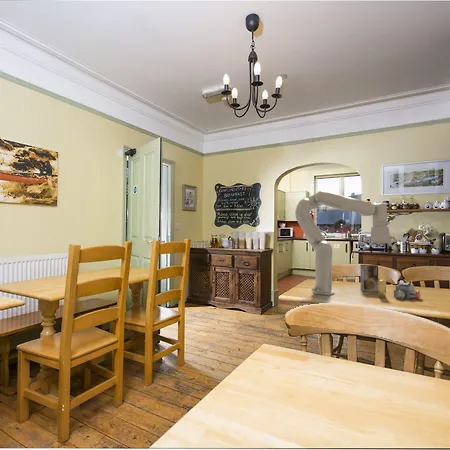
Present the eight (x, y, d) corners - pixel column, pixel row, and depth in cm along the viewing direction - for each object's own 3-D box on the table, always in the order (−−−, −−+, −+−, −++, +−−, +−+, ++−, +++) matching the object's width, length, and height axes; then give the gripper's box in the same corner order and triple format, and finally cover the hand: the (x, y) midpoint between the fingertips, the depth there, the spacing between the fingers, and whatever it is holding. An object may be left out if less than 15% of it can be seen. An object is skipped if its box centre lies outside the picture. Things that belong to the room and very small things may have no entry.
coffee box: (374, 289, 196) (374, 264, 196) (378, 291, 189) (378, 265, 189) (360, 289, 197) (360, 264, 197) (363, 291, 190) (363, 265, 190)
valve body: (413, 302, 166) (413, 289, 166) (391, 298, 174) (391, 286, 174) (423, 297, 176) (423, 285, 176) (402, 294, 184) (402, 282, 184)
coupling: (384, 298, 173) (384, 281, 172) (377, 297, 176) (377, 279, 176) (387, 297, 175) (387, 280, 175) (380, 296, 178) (380, 279, 178)
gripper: (396, 223, 179) (397, 252, 179) (364, 224, 187) (365, 252, 188) (396, 223, 173) (397, 254, 173) (363, 224, 181) (364, 253, 181)
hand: (380, 253), depth 180 cm, fingers open, 9 cm apart
